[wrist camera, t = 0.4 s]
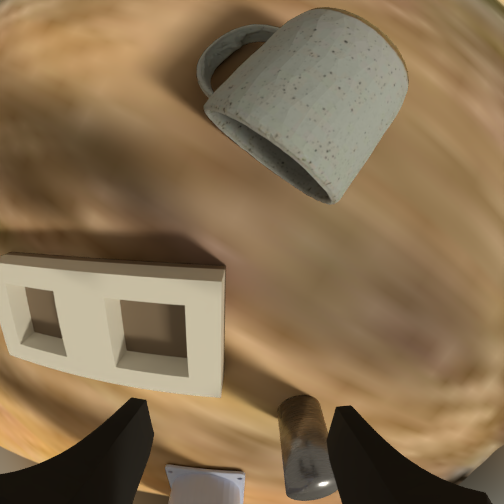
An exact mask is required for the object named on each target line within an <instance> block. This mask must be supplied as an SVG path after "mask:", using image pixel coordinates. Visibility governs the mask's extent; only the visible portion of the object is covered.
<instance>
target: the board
mask: <svg viewBox="0 0 504 504" xmlns="http://www.w3.org/2000/svg"><path fill="white" fill-rule="evenodd" d="M225 286H226V266H221V265H201V264H183V263H165V262H148V261H131V260H115V259H100V258H85V257H70V256H56V255H43V254H30V253H17V252H10V253H7V254H5V255H2V256H0V324H1V328H2V331H3V335H4V338H5V341H6V344H7V348H8V351H9V354H10V355H12V356H15V357H18V358H20V359H23V360H26V361H29V362H32V363H36V364H39V365H42V366H45V367H49V368H52V369H56V370H59V371H63V372H67V373H70V374H74V375H78V376H82V377H86V378H91V379H95V380H99V381H104V382H109V383H114V384H119V385H124V386H130V387H135V388H141V389H148V390H154V391H161V392H169V393H177V394H185V395H195V396H206V397H219V398H221V393H222V385H223V377H224V342H225Z"/></svg>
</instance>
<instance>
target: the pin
mask: <svg viewBox="0 0 504 504" xmlns="http://www.w3.org/2000/svg"><path fill="white" fill-rule="evenodd" d="M278 422H279V431H280V441H281V450H282V459H283V469H284V478H285V488H286V494H287V496H288V497H289V498H291V499H294V500H300V501H309V500H316V499H320V498H323V497H326V496H328V495H330V494H332V493H334V492H335V491H337V490H338V488H337V484H336V481H335V478H334V475H333V471H332V468H331V464H330V461H329V455H328V448H327V441H326V440H327V437H328V431H327V428H326V424H325V421H324V417H323V413H322V410H321V406H320V403H319V402H318V400H317V399H315V398H313V397H311V396H306V395H299V396H294V397H291V398H289V399H287V400H285V401H284V402H283V403H282V404H281V405H280V406H279V408H278Z"/></svg>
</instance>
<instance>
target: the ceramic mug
mask: <svg viewBox="0 0 504 504" xmlns="http://www.w3.org/2000/svg"><path fill="white" fill-rule="evenodd" d="M253 42H265V44H263V45H262V46H261V47H260V48H259V49H258V50H257V51H256V52H254V53H253V54H252V55H251V56H250V57H249V58H248V59H247V60H246V61H245V62H244V63H243V64H242V65H241V66H239V67H238V69H237V70H236V71H235V72H234V73H233V74H232V75H231V76H230V77H229V78H228V79H227V80H226V81H225V82H224V83H223V84H222V85H221V86H220V87H219V88H218V89H217V90H216V91H215V92H213V90H212V88H211V77H212V74H213V73H214V70H215V69H216V68H217V67H218V66H219V65H220V64H221V63H222V62H223V61H224V60H225V59H226V58H227V57H228V56H230V55H231V54H232V53H233V52H234V51H236V50H238V49H239V48H240V47H241V46H242V45H245V44H248V43H253ZM197 79H198V83H199V85H200V87H201V89H202V91H203V92H204V94H205V95H206V96H207V97H208V98H209V99H208V100H207V102H206V103H205V105H204V106H203V107H204V112H205V113H206V115H207V116H208V117H209V119H210V120H211V121H212V122H213V123H214V124H215V125H216V126H217V127H218V128H219V129H220V130H222V131H223V132H224V133H225V134H226V135H227V136H228V137H229V138H231V139H232V140H233V141H234V142H235V143H236V144H238V145H239V146H240V147H241V148H242V149H244V150H245V151H247V152H248V153H249V154H251V155H252V156H253V157H254V158H255V159H256V160H258V161H259V162H260V163H262V164H263V165H264V166H266V167H267V168H269V169H270V170H271V171H273V172H274V173H275V174H277V175H278V176H280V177H281V178H282V179H284V180H285V181H287V182H288V183H290V184H291V185H293V186H294V187H295V188H297V189H299V190H300V191H302V192H303V193H305V194H306V195H308V196H310V197H313V198H314V199H316V200H318V201H321V202H323V203H326V204H335V203H337V202H338V201H339V200H340V199H341V197H342V196H343V194H344V193H345V191H346V190H347V188H348V187H349V185H350V184H351V182H352V181H353V179H354V178H355V177H356V175H357V174H358V172H359V171H360V169H361V168H362V167H363V165H364V164H365V162H366V161H367V159H368V158H369V156H370V155H371V153H372V152H373V150H374V149H375V147H376V145H377V144H378V142H379V141H380V139H381V137H382V136H383V134H384V133H385V131H386V130H387V129H388V127H389V126H390V124H391V123H392V121H393V120H394V118H395V117H396V115H397V113H398V112H399V110H400V108H401V106H402V104H403V101H404V98H405V96H406V93H407V90H408V83H409V78H408V71H407V68H406V64H405V61H404V60H403V58H402V56H401V54H400V52H399V50H398V48H397V47H396V46H395V45H394V43H393V42H392V41H391V40H390V39H389V38H388V37H387V36H386V35H385V34H384V33H383V32H382V31H381V30H380V29H378V28H377V27H376V26H374V25H373V24H371V23H370V22H368V21H367V20H365V19H363V18H361V17H359V16H358V15H355V14H353V13H351V12H348V11H345V10H341V9H336V8H329V7H323V8H314V9H311V10H309V11H306V12H304V13H302V14H300V15H298V16H296V17H295V18H293V19H291V20H289V21H288V22H287V23H285V24H284V25H283V26H282V27H281V28H278V27H275V26H270V25H257V24H253V25H247V26H243V27H239V28H237V29H234V30H231V31H229V32H228V33H226V34H224V35H223V36H221V37H219V38H218V39H217V40H215V41H214V42H213V43H212V44H211V45H210V46H209V47H208V48H207V49H206V50H205V51H204V53H203V54H202V55H201V57H200V59H199V61H198V64H197Z"/></svg>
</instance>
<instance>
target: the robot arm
mask: <svg viewBox="0 0 504 504" xmlns="http://www.w3.org/2000/svg"><path fill="white" fill-rule="evenodd" d="M153 437H154V432H153V428H152V424H151V419H150V415H149V411H148V406H147V401H146V400H143V399H137V398H130V399H129V400H128V401H127V402H126V403H125V404H124V405H123V406H122V407H121V408H120V409H118V410H117V411H116V412H115V413H114V414H113V415H112V416H111V417H110V418H109V419H107V420H106V421H105V422H104V423H103V424H102V425H100V426H99V427H98V428H97V429H96V430H94V431H93V432H92V433H91V434H89V435H88V436H87V437H85V438H84V439H83V440H81V441H80V442H78V443H77V444H76V445H74V446H72V447H71V448H69V449H68V450H66V451H64V452H63V453H61V454H59V455H57V456H55V457H53V458H51V459H48V460H46V461H44V462H42V463H40V464H37V465H34V466H31V467H29V468H25V469H22V470H19V471H15V472H10V473H5V474H0V504H132V503H133V500H134V497H135V494H136V491H137V488H138V486H139V483H140V480H141V477H142V475H143V472H144V469H145V466H146V464H147V461H148V458H149V455H150V451H151V447H152V442H153ZM326 441H327V448H328V455H329V461H330V464H331V468H332V471H333V475H334V478H335V481H336V484H337V488H338V491H339V494H340V498H341V501H342V504H492V503H491V501H490V499H489V498H488V496H487V495H486V493H484V492H480V491H476V490H472V489H468V488H464V487H461V486H459V485H456V484H453V483H450V482H448V481H446V480H443V479H441V478H439V477H437V476H435V475H433V474H431V473H429V472H427V471H426V470H424V469H422V468H421V467H419V466H418V465H416V464H415V463H413V462H411V461H410V460H409V459H407V458H406V457H404V456H403V455H402V454H401V453H399V452H398V451H397V450H396V449H394V448H393V447H392V446H391V445H390V444H389V443H388V442H386V441H385V440H384V439H383V438H382V437H381V436H380V435H379V434H378V433H377V432H376V431H375V430H374V429H373V428H372V427H371V426H370V425H369V424H368V423H367V422H366V421H365V420H364V419H363V418H362V417H361V415H360V414H359V413H358V412H357V411H356V410H355V409H354V408H353V407H352V406H340V407H336V409H335V413H334V416H333V420H332V423H331V427H330V430H329V433H328V437H327V440H326ZM165 470H166V473H167V477H168V480H169V484H170V487H171V494H170V498H169V504H243V498H244V484H245V473H244V472H242V471H225V470H212V469H201V468H192V467H184V466H177V465H170V464H168V465H166V466H165Z"/></svg>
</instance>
